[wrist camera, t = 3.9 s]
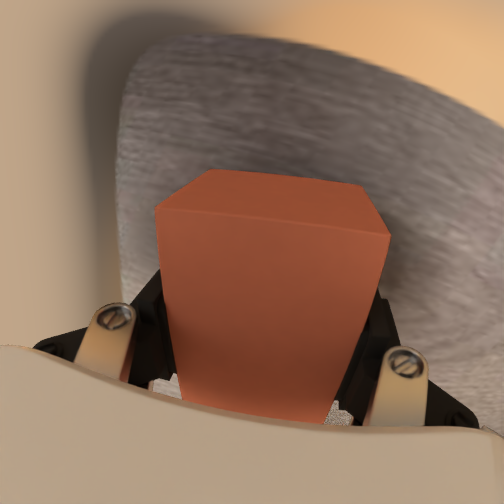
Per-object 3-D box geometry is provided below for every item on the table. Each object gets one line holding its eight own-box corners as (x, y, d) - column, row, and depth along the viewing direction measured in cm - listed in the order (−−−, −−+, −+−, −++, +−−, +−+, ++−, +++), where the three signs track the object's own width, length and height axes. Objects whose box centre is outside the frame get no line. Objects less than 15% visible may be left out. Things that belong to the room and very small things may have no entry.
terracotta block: (209, 168, 10) (153, 206, 6) (361, 185, 9) (392, 235, 6) (213, 344, 13) (185, 413, 10) (320, 361, 13) (317, 436, 9)
